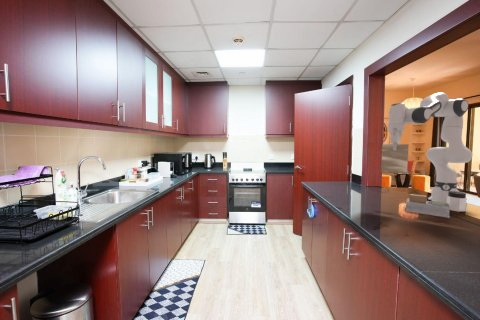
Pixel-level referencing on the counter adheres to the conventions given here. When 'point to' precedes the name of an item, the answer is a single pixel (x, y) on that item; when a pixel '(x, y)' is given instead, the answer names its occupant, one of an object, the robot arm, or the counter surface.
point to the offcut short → (438, 203)
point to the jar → (456, 201)
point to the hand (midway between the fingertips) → (395, 150)
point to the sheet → (394, 158)
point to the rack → (428, 208)
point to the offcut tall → (417, 198)
